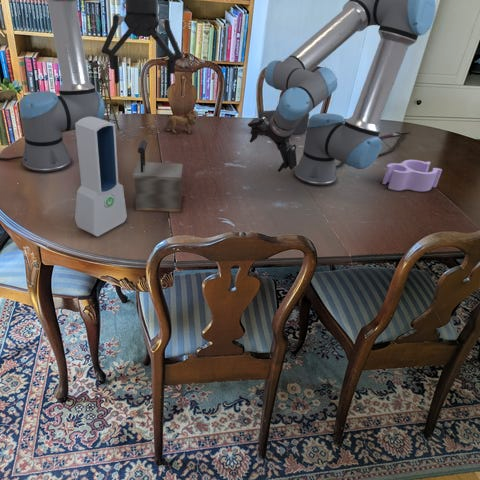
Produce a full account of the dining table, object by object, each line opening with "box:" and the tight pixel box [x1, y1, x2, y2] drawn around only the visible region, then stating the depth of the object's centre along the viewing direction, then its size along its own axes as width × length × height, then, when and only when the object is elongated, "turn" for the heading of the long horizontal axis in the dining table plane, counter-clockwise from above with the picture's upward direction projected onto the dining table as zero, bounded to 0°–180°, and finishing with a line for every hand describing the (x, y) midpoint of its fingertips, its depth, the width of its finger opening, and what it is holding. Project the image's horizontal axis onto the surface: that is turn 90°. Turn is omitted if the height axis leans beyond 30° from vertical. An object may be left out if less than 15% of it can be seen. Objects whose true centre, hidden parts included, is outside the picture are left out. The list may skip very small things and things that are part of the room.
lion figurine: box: [163, 109, 199, 134], centre depth 194 cm, size 15×5×9 cm, turn 110°
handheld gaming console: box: [258, 109, 310, 135], centre depth 204 cm, size 23×3×10 cm, turn 108°
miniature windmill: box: [90, 53, 120, 130], centre depth 181 cm, size 9×8×30 cm
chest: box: [134, 167, 184, 213], centre depth 141 cm, size 13×10×10 cm
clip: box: [381, 159, 443, 192], centre depth 171 cm, size 20×12×7 cm, turn 109°
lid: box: [131, 139, 184, 180], centre depth 136 cm, size 14×10×9 cm
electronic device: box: [74, 116, 128, 238], centre depth 122 cm, size 12×8×30 cm, turn 148°
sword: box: [378, 131, 411, 140], centre depth 215 cm, size 31×3×1 cm, turn 126°
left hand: (143, 84), depth 125 cm, fingers open, 13 cm apart
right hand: (267, 154), depth 156 cm, fingers open, 13 cm apart
